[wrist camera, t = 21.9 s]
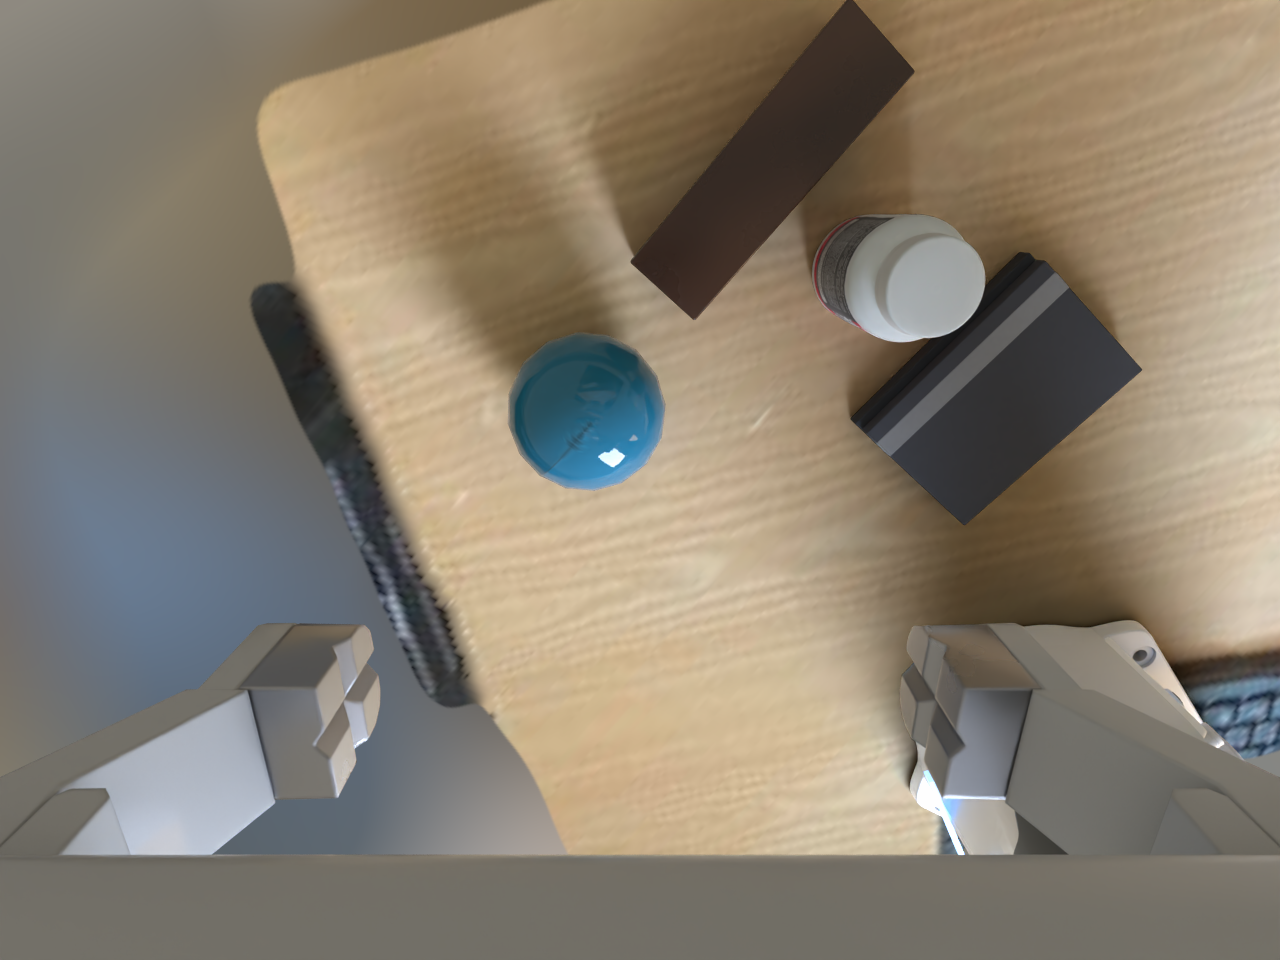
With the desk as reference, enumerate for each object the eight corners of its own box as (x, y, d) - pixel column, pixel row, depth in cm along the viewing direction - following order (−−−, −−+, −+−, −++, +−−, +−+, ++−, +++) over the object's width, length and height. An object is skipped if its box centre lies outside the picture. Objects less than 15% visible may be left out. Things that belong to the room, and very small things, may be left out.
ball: (692, 383, 38) (705, 424, 31) (603, 486, 41) (595, 547, 33) (578, 289, 37) (563, 308, 29) (492, 402, 39) (457, 447, 31)
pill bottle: (816, 330, 37) (873, 367, 28) (803, 227, 36) (860, 232, 26) (916, 308, 37) (1007, 339, 28) (908, 203, 35) (1003, 199, 26)
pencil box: (888, 85, 33) (916, 71, 30) (689, 311, 37) (694, 321, 34) (829, 18, 32) (850, -4, 29) (630, 257, 36) (629, 262, 33)
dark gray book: (1121, 363, 38) (1144, 371, 36) (951, 513, 41) (965, 527, 40) (1019, 251, 36) (1039, 253, 34) (849, 418, 39) (859, 428, 37)
